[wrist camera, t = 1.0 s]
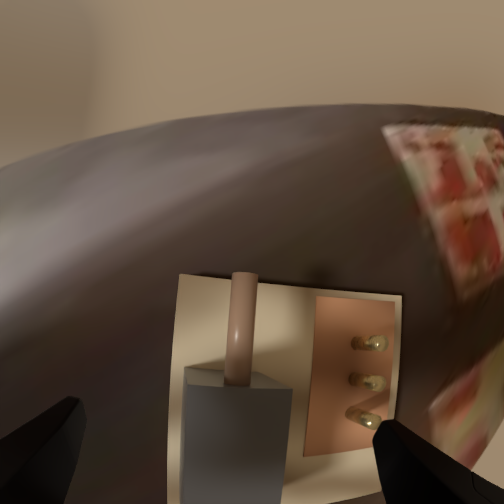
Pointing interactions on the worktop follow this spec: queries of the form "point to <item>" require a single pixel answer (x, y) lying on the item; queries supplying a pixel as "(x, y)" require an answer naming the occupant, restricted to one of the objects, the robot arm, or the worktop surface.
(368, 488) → the birch board
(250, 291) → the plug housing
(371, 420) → the header pins
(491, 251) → the worktop surface
